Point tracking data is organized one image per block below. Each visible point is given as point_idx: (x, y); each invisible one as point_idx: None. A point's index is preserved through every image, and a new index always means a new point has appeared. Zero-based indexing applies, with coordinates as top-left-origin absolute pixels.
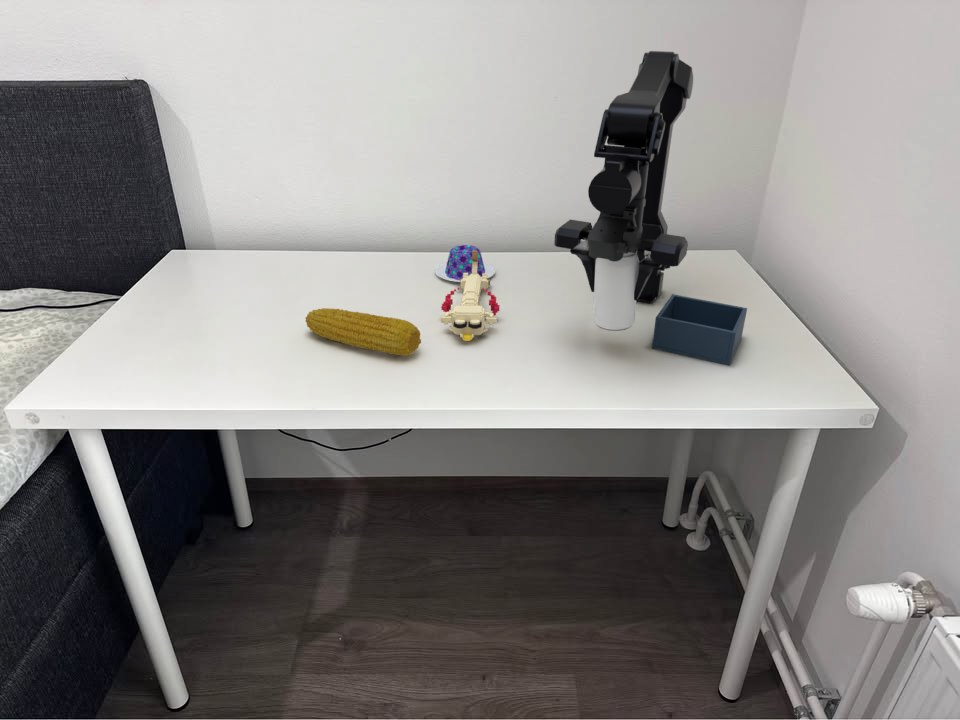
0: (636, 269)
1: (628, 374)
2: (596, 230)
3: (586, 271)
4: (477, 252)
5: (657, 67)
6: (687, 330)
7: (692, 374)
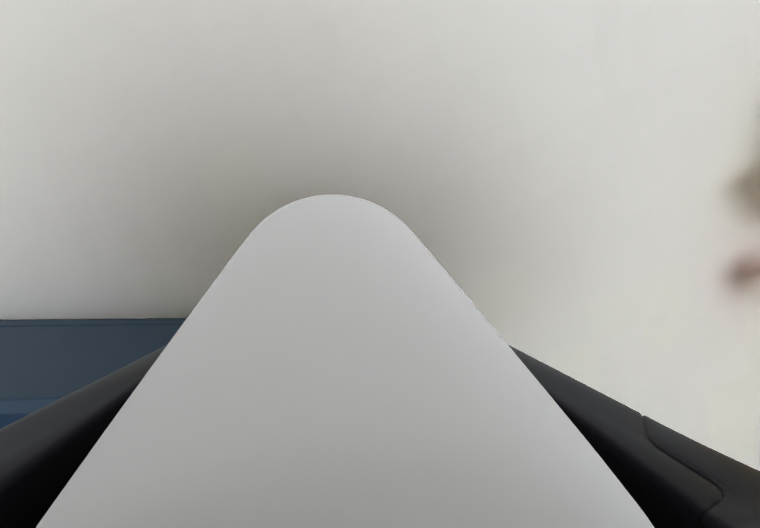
0: None
1: (212, 93)
2: None
3: (652, 422)
4: None
5: None
6: (30, 376)
7: (6, 202)
